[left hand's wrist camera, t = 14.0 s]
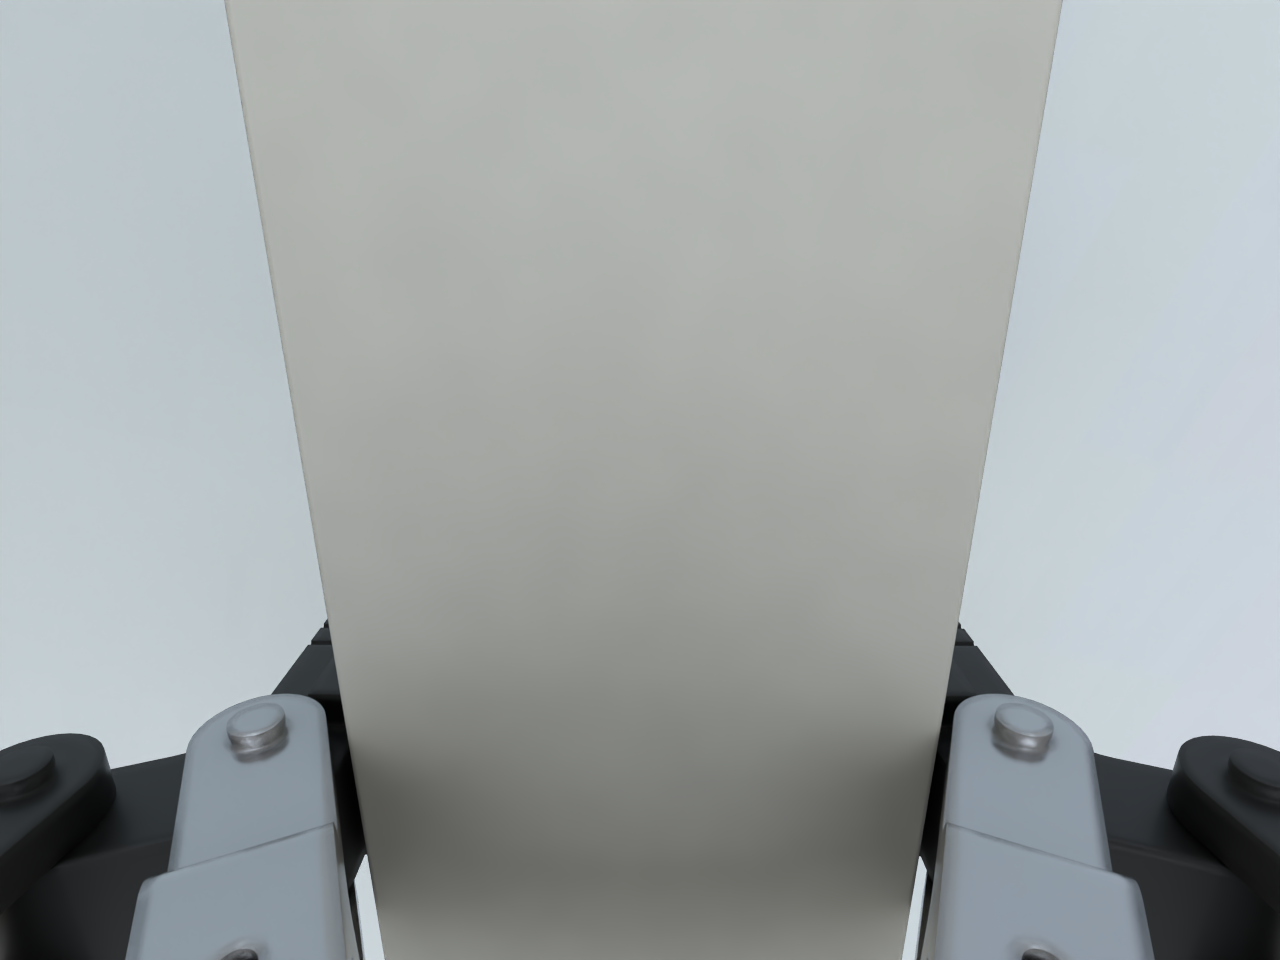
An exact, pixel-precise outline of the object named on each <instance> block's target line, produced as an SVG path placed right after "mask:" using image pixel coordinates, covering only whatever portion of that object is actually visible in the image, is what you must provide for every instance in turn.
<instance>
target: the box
mask: <svg viewBox="0 0 1280 960" xmlns="http://www.w3.org/2000/svg"><path fill="white" fill-rule="evenodd" d="M224 1H225V7H226V13H227V19H228V25H229V31H230V37H231V43H232V49H233V55H234V61H235V67H236V73H237V79H238V85H239V91H240V97H241V103H242V109H243V115H244V121H245V127H246V133H247V139H248V145H249V151H250V157H251V163H252V169H253V175H254V181H255V187H256V193H257V199H258V205H259V211H260V216H261V222H262V228H263V234H264V240H265V246H266V252H267V258H268V264H269V270H270V276H271V282H272V288H273V294H274V300H275V306H276V312H277V318H278V324H279V330H280V336H281V342H282V348H283V354H284V360H285V366H286V372H287V378H288V384H289V390H290V396H291V402H292V408H293V414H294V420H295V426H296V432H297V438H298V443H299V449H300V455H301V461H302V467H303V473H304V479H305V485H306V491H307V497H308V503H309V509H310V515H311V521H312V527H313V533H314V539H315V545H316V551H317V557H318V563H319V569H320V575H321V581H322V587H323V593H324V599H325V605H326V611H327V617H328V623H329V629H330V635H331V641H332V647H333V653H334V659H335V665H336V670H337V676H338V682H339V688H340V694H341V700H342V706H343V712H344V718H345V724H346V730H347V736H348V742H349V748H350V754H351V760H352V766H353V772H354V778H355V784H356V790H357V796H358V802H359V808H360V814H361V820H362V826H363V832H364V838H365V844H366V850H367V856H368V862H369V868H370V874H371V880H372V886H373V892H374V897H375V903H376V909H377V915H378V921H379V927H380V933H381V939H382V945H383V951H384V957H385V960H902V954H903V949H904V943H905V937H906V931H907V925H908V919H909V913H910V907H911V901H912V895H913V889H914V883H915V877H916V871H917V865H918V859H919V853H920V847H921V841H922V835H923V829H924V823H925V817H926V811H927V805H928V799H929V794H930V788H931V782H932V776H933V770H934V764H935V758H936V752H937V746H938V740H939V734H940V728H941V722H942V716H943V710H944V704H945V698H946V692H947V686H948V680H949V674H950V668H951V662H952V656H953V650H954V644H955V639H956V633H957V627H958V621H959V615H960V609H961V603H962V597H963V591H964V585H965V579H966V573H967V567H968V561H969V555H970V549H971V543H972V537H973V531H974V525H975V519H976V513H977V507H978V501H979V495H980V489H981V484H982V478H983V472H984V466H985V460H986V454H987V448H988V442H989V436H990V430H991V424H992V418H993V412H994V406H995V400H996V394H997V388H998V382H999V376H1000V370H1001V364H1002V358H1003V352H1004V346H1005V340H1006V334H1007V329H1008V323H1009V317H1010V311H1011V305H1012V299H1013V293H1014V287H1015V281H1016V275H1017V269H1018V263H1019V257H1020V251H1021V245H1022V239H1023V233H1024V227H1025V221H1026V215H1027V209H1028V203H1029V197H1030V191H1031V185H1032V179H1033V174H1034V168H1035V162H1036V156H1037V150H1038V144H1039V138H1040V132H1041V126H1042V120H1043V114H1044V108H1045V102H1046V96H1047V90H1048V84H1049V78H1050V72H1051V66H1052V60H1053V54H1054V48H1055V42H1056V36H1057V30H1058V25H1059V19H1060V13H1061V7H1062V1H1063V0H224Z"/></svg>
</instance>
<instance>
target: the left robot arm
mask: <svg viewBox="0 0 1280 960" xmlns="http://www.w3.org/2000/svg"><path fill="white" fill-rule="evenodd" d="M365 854H367V850H366V844H365V838H364V832H363V826H362V820H361V814H360V808H359V802H358V796H357V790H356V784H355V778H354V772H353V766H352V760H351V754H350V748H349V742H348V736H347V730H346V724H345V718H344V712H343V706H342V700H341V694H340V688H339V682H338V676H337V670H336V665H335V659H334V653H333V647H332V641H331V635H330V629H329V623H328V619H327V620H326V622H325V623H324V628H320V630H319V631H318V632H317V634H316V635H315V636H314V638H313V639H312V640H311V645H308V646H307V647H306V648H305V650H304V651H303V652H302V654H301V655H300V656H299V658H298V659H297V660H296V662H295V663H294V665H293V666H292V667H291V669H290V670H289V671H288V673H287V674H286V675H285V677H284V678H283V679H282V681H281V682H280V683H279V685H278V686H277V687H276V689H275V690H274V691H273V693H272V694H271V695H267V696H262V697H257V698H254V699H250V700H247V701H244V702H242V703H239V704H236V705H234V706H232V707H230V708H228V709H226V710H224V711H222V712H220V713H219V714H217V715H215V716H214V717H213V718H211V719H210V720H208V721H207V722H206V723H205V724H204V725H202V726H201V727H200V728H199V729H198V730H197V732H196V733H195V734H194V735H193V737H192V738H191V740H190V742H189V744H188V747H187V751H186V753H185V754H181V755H177V756H172V757H168V758H163V759H158V760H153V761H148V762H144V763H139V764H134V765H129V766H125V767H120V768H115V769H110V766H109V763H108V760H107V756H106V753H105V750H104V747H103V745H102V743H101V742H99V741H98V740H97V739H96V738H93V737H91V736H88V735H83V734H72V733H69V734H56V735H50V736H44V737H40V738H36V739H32V740H28V741H25V742H22V743H19V744H16V745H13V746H11V747H8V748H6V749H3V750H1V751H0V960H365V954H364V945H363V937H362V929H361V921H360V912H359V904H358V896H357V890H356V885H355V877H356V874H357V872H358V870H359V867H360V865H361V862H362V860H363V858H364V855H365ZM919 856H921V858H922V860H923V862H924V865H925V867H926V869H927V873H926V879H925V884H924V890H923V896H922V904H921V912H920V920H919V928H918V937H917V945H916V953H915V960H1280V752H1279V751H1277V750H1274V749H1271V748H1269V747H1266V746H1263V745H1260V744H1257V743H1254V742H1250V741H1246V740H1242V739H1238V738H1231V737H1225V736H1201V737H1196V738H1193V739H1190V740H1188V741H1186V742H1185V743H1184V744H1183V745H1182V746H1181V748H1180V750H1179V752H1178V755H1177V759H1176V762H1175V765H1174V768H1173V770H1169V769H1164V768H1159V767H1154V766H1150V765H1145V764H1140V763H1135V762H1130V761H1126V760H1121V759H1116V758H1112V757H1108V756H1104V755H1100V754H1097V753H1094V751H1093V747H1092V744H1091V742H1090V740H1089V738H1088V737H1087V735H1086V734H1085V733H1084V732H1083V730H1082V729H1081V728H1080V727H1079V726H1078V725H1076V724H1075V723H1074V722H1073V721H1072V720H1070V719H1069V718H1067V717H1066V716H1065V715H1063V714H1061V713H1060V712H1058V711H1056V710H1054V709H1052V708H1050V707H1048V706H1046V705H1044V704H1041V703H1038V702H1036V701H1033V700H1030V699H1026V698H1023V697H1018V696H1014V694H1013V693H1012V692H1011V690H1010V689H1009V688H1008V686H1007V685H1006V684H1005V683H1004V681H1003V680H1002V679H1001V677H1000V676H999V675H998V673H997V672H996V671H995V669H994V668H993V667H992V665H991V664H990V663H989V661H988V660H987V659H986V657H985V656H984V655H983V653H982V652H981V651H980V649H979V648H978V647H977V646H974V641H973V640H972V639H971V638H970V636H969V635H968V634H967V632H966V631H965V630H964V629H961V624H960V623H959V622H958V627H957V633H956V639H955V644H954V650H953V656H952V662H951V668H950V674H949V680H948V686H947V692H946V698H945V704H944V710H943V716H942V722H941V728H940V734H939V740H938V746H937V752H936V758H935V764H934V770H933V776H932V782H931V788H930V794H929V799H928V805H927V811H926V817H925V823H924V829H923V835H922V841H921V847H920V853H919Z"/></svg>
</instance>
